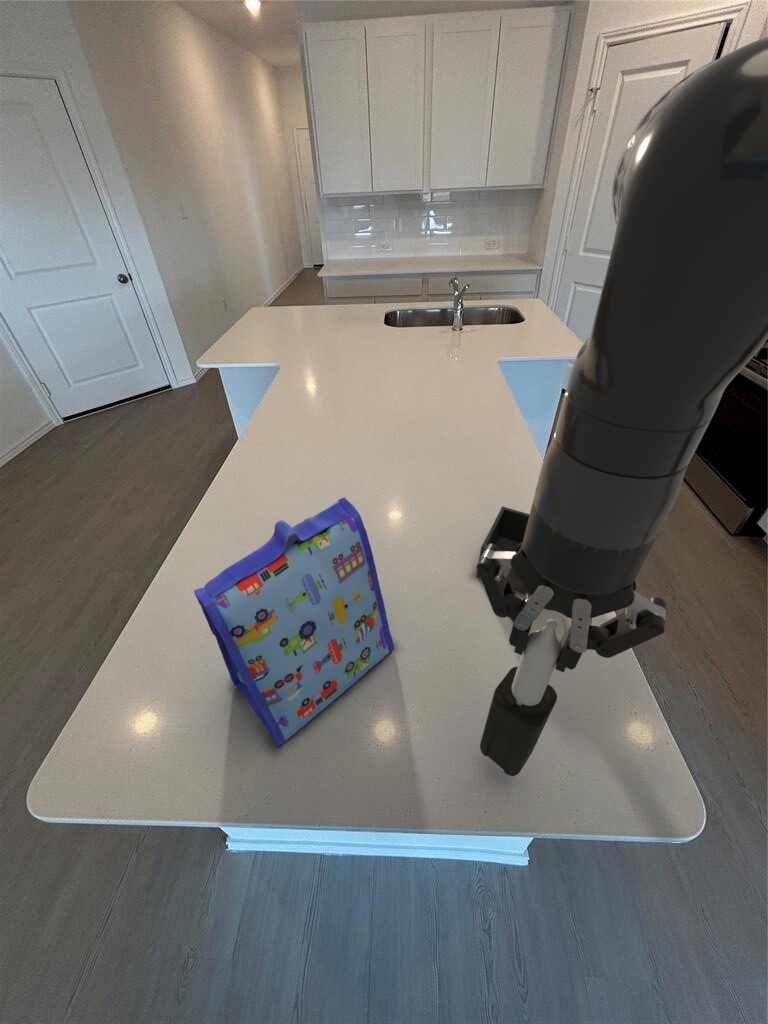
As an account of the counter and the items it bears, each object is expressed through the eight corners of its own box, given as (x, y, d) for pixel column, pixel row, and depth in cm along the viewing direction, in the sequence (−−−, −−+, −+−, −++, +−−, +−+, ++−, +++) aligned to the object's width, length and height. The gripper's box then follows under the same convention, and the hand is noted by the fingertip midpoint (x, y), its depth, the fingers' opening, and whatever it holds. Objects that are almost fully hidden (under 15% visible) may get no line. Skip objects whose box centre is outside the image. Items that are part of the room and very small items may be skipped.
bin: (558, 555, 85) (569, 525, 80) (544, 601, 76) (554, 571, 71) (496, 535, 89) (502, 506, 84) (475, 576, 81) (481, 547, 76)
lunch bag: (342, 602, 77) (324, 467, 59) (396, 652, 70) (395, 515, 51) (231, 683, 66) (164, 549, 48) (280, 753, 59) (224, 625, 40)
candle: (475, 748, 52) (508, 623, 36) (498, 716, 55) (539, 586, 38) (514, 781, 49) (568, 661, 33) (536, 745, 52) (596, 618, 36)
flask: (565, 617, 74) (581, 577, 67) (562, 653, 69) (579, 614, 62) (521, 605, 76) (533, 566, 70) (515, 639, 71) (527, 600, 64)
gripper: (469, 506, 28) (450, 655, 39) (730, 584, 23) (621, 730, 34) (504, 448, 33) (478, 595, 44) (724, 501, 27) (631, 653, 39)
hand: (541, 653), depth 39 cm, fingers closed on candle, 3 cm apart
